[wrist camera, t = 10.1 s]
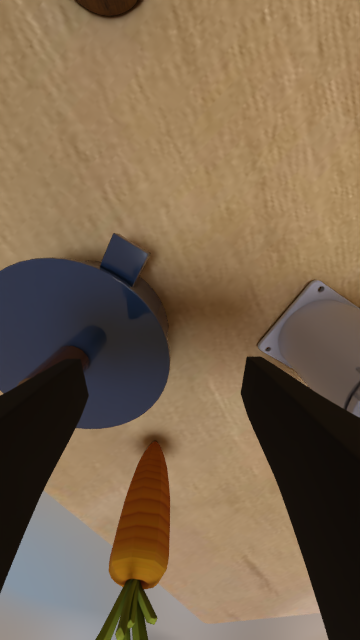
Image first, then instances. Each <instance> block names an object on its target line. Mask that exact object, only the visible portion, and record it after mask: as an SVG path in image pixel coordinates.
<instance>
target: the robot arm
mask: <svg viewBox="0 0 360 640" xmlns="http://www.w3.org/2000/svg"><path fill="white" fill-rule="evenodd" d="M319 287H321V290H319V291H318V288H319ZM267 347H269V348H268V349H266V348H267ZM258 348H259V349H260V350H261V351H263V352H264V353H266V354H268V355H270V356H271V357H273V358H275V359H277V360H278V361H280V362H282V363H284V364H285V365H287V366H289V367H291V368H292V369H294V370H295V371H296V372H297V373H298V375H299V376H300V377H301V378H302V379H303V380H304V381H305V383H306V384H307V385H308V386H309V387H310V388H311V389H310V388H309V387H307V386H305V385H304V384H302V383H301V382H299V381H298V380H296V379H295V378H293V377H292V376H290V375H289V374H287V373H286V372H284V371H283V370H281V369H280V368H278V367H277V366H275V365H274V364H272V363H270V362H269V361H267V360H266V359H264V358H262V357H247V359H246V365H245V371H244V377H243V383H242V389H241V395H242V399H243V402H244V406H245V409H246V412H247V415H248V418H249V420H250V422H251V425H252V427H253V429H254V431H255V434H256V436H257V438H258V440H259V443H260V445H261V447H262V449H263V452H264V454H265V456H266V458H267V461H268V463H269V465H270V467H271V470H272V472H273V474H274V477H275V479H276V481H277V484H278V486H279V489H280V492H281V495H282V497H283V500H284V503H285V506H286V509H287V512H288V514H289V517H290V520H291V523H292V526H293V529H294V532H295V535H296V538H297V541H298V544H299V547H300V550H301V553H302V556H303V559H304V562H305V565H306V568H307V571H308V574H309V577H310V581H311V584H312V587H313V590H314V593H315V597H316V600H317V603H318V606H319V609H320V613H321V616H322V619H323V622H324V625H325V629H326V632H327V636H328V639H329V640H360V308H358V307H357V306H355V305H354V304H353V303H351V302H350V301H348V300H347V299H345V298H344V297H343V296H341V295H340V294H338V293H337V292H335V291H334V290H333V289H331V288H330V287H328V286H327V285H325V284H324V283H322V282H321V281H319V280H313V281H311V282H310V283H309V285H308V286H307V287H306V288H305V289H304V290H303V292H302V293H301V294H300V295H299V296H298V298H297V299H296V300H295V301H294V302H293V303H292V305H291V306H290V307H289V308H288V309H287V310H286V312H285V313H284V314H283V315H282V316H281V318H280V319H279V320H278V321H277V322H276V323H275V325H274V326H273V327H272V328H271V329H270V330H269V332H268V333H267V334H266V335H265V336H264V338H263V339H262V340H261V341H260V342H259V344H258ZM88 397H89V394H88V390H87V385H86V381H85V376H84V372H83V367H82V363H81V359H65V360H63V361H61V362H59V363H57V364H55V365H53V366H51V367H49V368H48V369H46V370H44V371H43V372H41V373H39V374H37V375H36V376H34V377H32V378H30V379H29V380H27V381H25V382H24V383H22V384H20V385H18V386H17V387H15V388H13V389H11V390H10V391H8V392H6V393H4V394H2V395H1V396H0V593H1V590H2V587H3V585H4V582H5V580H6V577H7V575H8V572H9V570H10V567H11V565H12V562H13V560H14V557H15V555H16V553H17V550H18V548H19V545H20V543H21V540H22V538H23V535H24V533H25V531H26V528H27V526H28V524H29V521H30V519H31V517H32V514H33V512H34V510H35V507H36V505H37V503H38V500H39V498H40V496H41V494H42V492H43V490H44V488H45V486H46V484H47V482H48V480H49V478H50V476H51V474H52V472H53V470H54V468H55V466H56V464H57V463H58V461H59V459H60V457H61V455H62V453H63V451H64V449H65V447H66V446H67V444H68V442H69V440H70V438H71V436H72V434H73V432H74V430H75V428H76V426H77V424H78V422H79V420H80V418H81V416H82V413H83V411H84V408H85V405H86V403H87V400H88Z"/></svg>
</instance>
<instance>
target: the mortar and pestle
mask: <svg viewBox="0 0 360 640" xmlns="http://www.w3.org/2000/svg"><path fill="white" fill-rule="evenodd" d="M77 1H78V2H79V3H80V4H81V5H82V6H84V7H85V8H87V9H88V10H90V11H92V12H95V13H97V14H100V15H106V16H111V15H118V14H121V13H124V12H126V11H127V10H129V9H131V8H132V7H133V6H134V5H135V3H136V2H137V1H138V0H77Z"/></svg>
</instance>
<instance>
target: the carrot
mask: <svg viewBox="0 0 360 640" xmlns="http://www.w3.org/2000/svg"><path fill="white" fill-rule="evenodd" d="M169 534H170V493H169V481H168V472H167V466H166V462H165V458H164V455H163V452H162V450H161V447H160V445H159V444H158V443H157V442H156V441H154V442H152V443H151V444H150V445H149V447H148V448H147V449H146V451H145V452H144V454H143V456H142V457H141V459H140V461H139V463H138V466H137V468H136V471H135V473H134V476H133V479H132V481H131V484H130V487H129V490H128V493H127V496H126V499H125V502H124V506H123V509H122V513H121V517H120V520H119V524H118V528H117V532H116V536H115V540H114V544H113V548H112V552H111V556H110V561H109V573H110V576H111V578H112V579H113V580H114V581H115V582H116V583H117V584H119V585H120V586H122V587H123V589H122V591H121V593H120V595H119V596H118V598H117V600H116V602H115V604H114V606H113V608H112V610H111V612H110V614H109V616H108V618H107V620H106V621H105V623H104V625H103V627H102V629H101V631H100V633H99V635H98V636H97V638H96V640H111V637H112V635H113V633H114V630H115V628H116V625H117V622H118V620H119V618H120V620H119V624H118V628H117V631H116V634H115V635H116V638H117V640H130V628H131V627H132V636H133V640H148V636H147V631H146V625H145V619H146V621H147V622H148V623H150V624H153V625H154V624H155V622H156V620H157V616H156V614H155V612H154V610H153V608H152V606H151V604H150V601H149V600H148V597H147V596H146V593H145V591H144V589H148V588H153V587H154V586H156V585H157V584H158V582H159V581H160V579H161V578H162V576H163V574H164V573H165V571H166V569H167V565H168V558H169ZM120 615H121V616H120ZM144 617H145V618H144Z"/></svg>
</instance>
